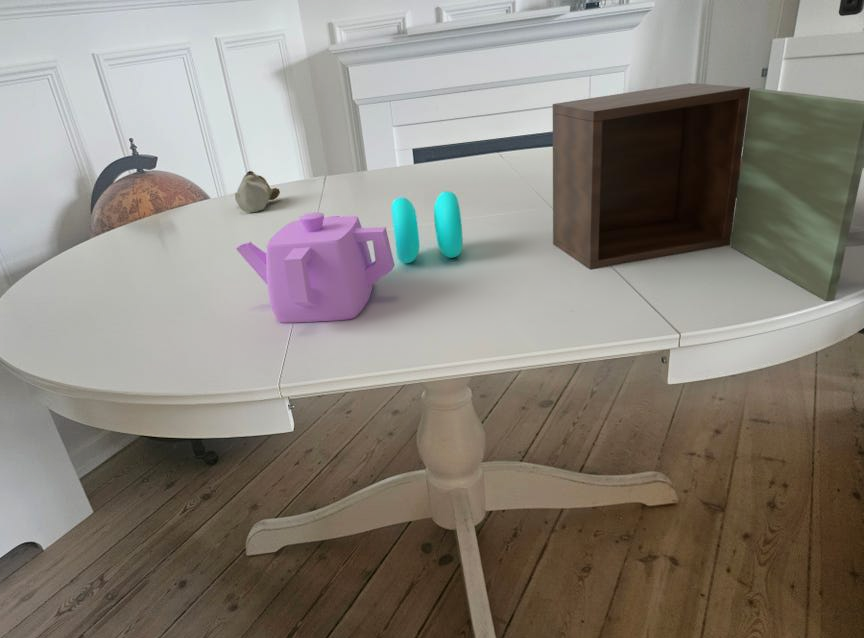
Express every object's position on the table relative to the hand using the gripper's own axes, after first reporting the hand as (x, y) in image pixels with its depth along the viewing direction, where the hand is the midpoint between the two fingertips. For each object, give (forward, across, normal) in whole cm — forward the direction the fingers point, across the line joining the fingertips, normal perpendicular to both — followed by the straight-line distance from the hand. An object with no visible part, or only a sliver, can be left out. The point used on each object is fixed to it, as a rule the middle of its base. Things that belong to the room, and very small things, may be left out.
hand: (850, 14), depth 76 cm
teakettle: (+27, -48, +48) cm, 74 cm away
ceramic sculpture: (+27, -12, +109) cm, 113 cm away
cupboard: (+27, -12, +19) cm, 35 cm away
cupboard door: (+27, -14, -2) cm, 30 cm away
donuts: (+27, -28, +45) cm, 60 cm away
